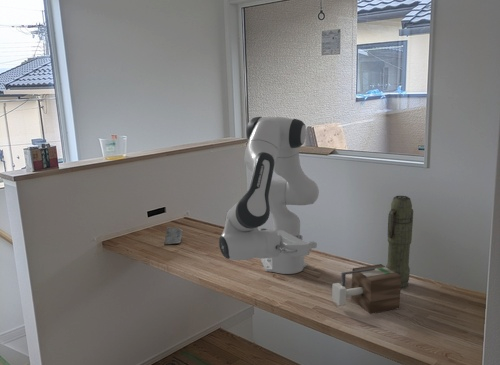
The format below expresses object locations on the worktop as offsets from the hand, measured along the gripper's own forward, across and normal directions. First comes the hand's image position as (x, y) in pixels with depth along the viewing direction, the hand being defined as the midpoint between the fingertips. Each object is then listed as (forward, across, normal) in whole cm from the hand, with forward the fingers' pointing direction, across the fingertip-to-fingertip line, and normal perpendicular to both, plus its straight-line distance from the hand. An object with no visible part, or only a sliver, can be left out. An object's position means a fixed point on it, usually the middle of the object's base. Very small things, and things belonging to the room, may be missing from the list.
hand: (308, 241), depth 158 cm
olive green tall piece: (+47, +11, +23) cm, 54 cm away
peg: (+20, 0, +22) cm, 30 cm away
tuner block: (+28, 0, +25) cm, 38 cm away
